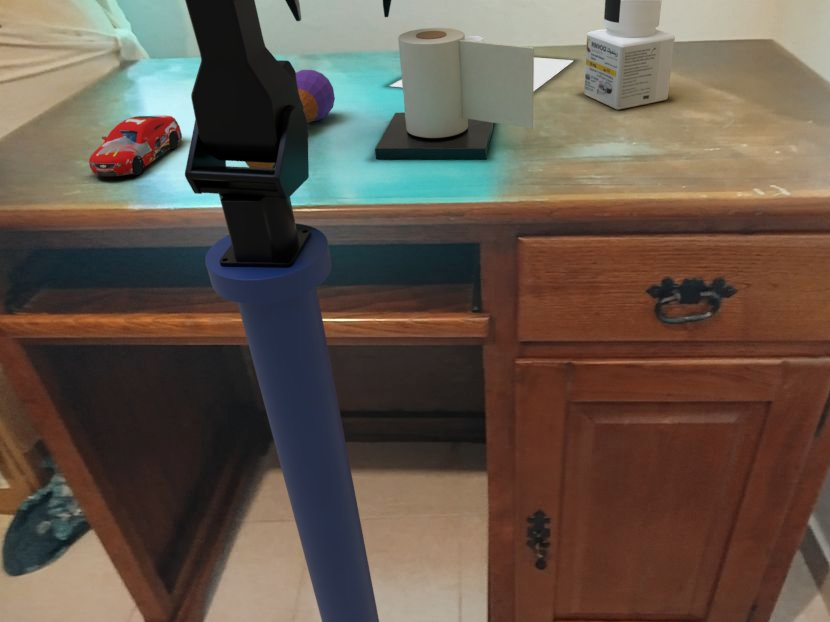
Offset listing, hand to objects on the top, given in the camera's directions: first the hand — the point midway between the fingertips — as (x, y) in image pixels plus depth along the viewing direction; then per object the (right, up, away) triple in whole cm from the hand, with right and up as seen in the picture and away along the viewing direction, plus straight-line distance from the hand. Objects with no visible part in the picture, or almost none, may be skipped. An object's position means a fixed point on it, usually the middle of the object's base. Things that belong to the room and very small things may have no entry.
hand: (342, 18), depth 76 cm
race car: (-24, -13, +6) cm, 28 cm away
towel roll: (+13, -10, +5) cm, 17 cm away
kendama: (-7, -10, +9) cm, 15 cm away
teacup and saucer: (+16, +5, +28) cm, 33 cm away
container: (+33, -3, +17) cm, 37 cm away
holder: (+10, -11, +7) cm, 16 cm away
